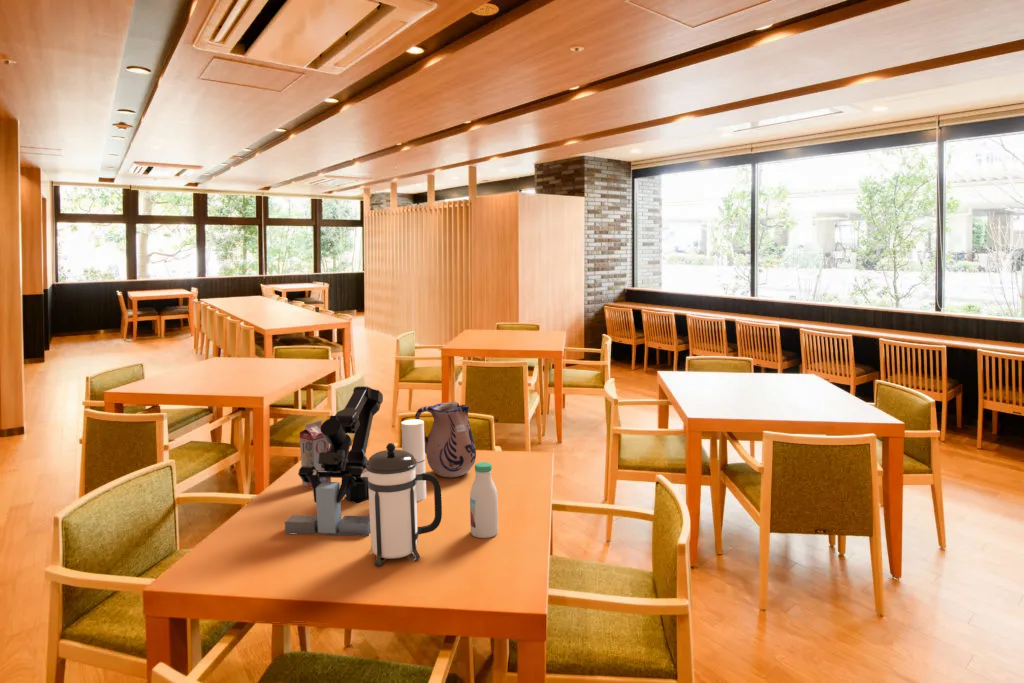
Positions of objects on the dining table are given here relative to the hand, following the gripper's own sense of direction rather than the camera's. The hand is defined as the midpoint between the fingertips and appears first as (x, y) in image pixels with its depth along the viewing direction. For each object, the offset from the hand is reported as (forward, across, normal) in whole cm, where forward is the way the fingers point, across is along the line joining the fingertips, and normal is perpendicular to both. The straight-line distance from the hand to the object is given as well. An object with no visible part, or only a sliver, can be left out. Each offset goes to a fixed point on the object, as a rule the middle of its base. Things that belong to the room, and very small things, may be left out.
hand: (326, 502), depth 178 cm
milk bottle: (+5, +44, +8) cm, 45 cm away
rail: (+5, 0, +7) cm, 9 cm away
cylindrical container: (-13, +18, +26) cm, 35 cm away
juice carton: (-20, -18, +34) cm, 44 cm away
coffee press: (+14, +24, -2) cm, 28 cm away
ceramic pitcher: (-29, +25, +42) cm, 57 cm away
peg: (+5, 0, +7) cm, 9 cm away
